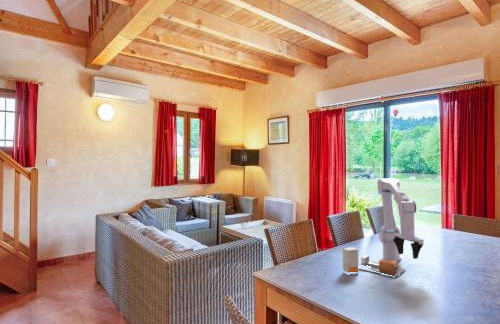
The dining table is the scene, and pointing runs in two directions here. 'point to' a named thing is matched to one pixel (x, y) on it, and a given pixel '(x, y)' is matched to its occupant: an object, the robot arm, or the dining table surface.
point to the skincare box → (350, 259)
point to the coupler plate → (376, 267)
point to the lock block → (387, 265)
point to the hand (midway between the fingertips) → (408, 256)
